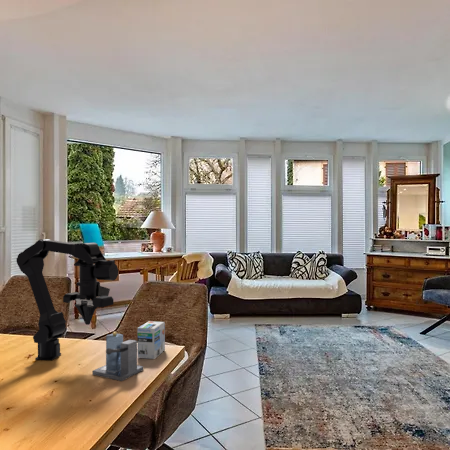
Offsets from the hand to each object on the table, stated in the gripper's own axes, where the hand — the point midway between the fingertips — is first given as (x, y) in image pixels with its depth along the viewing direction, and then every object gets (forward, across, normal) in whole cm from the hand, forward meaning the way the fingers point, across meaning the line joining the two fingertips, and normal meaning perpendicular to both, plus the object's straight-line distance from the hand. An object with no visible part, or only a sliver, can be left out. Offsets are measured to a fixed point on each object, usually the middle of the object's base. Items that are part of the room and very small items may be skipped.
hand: (87, 324), depth 134 cm
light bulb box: (+13, -15, -16) cm, 25 cm away
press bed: (+13, -17, +5) cm, 22 cm away
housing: (+11, -15, +3) cm, 19 cm away
